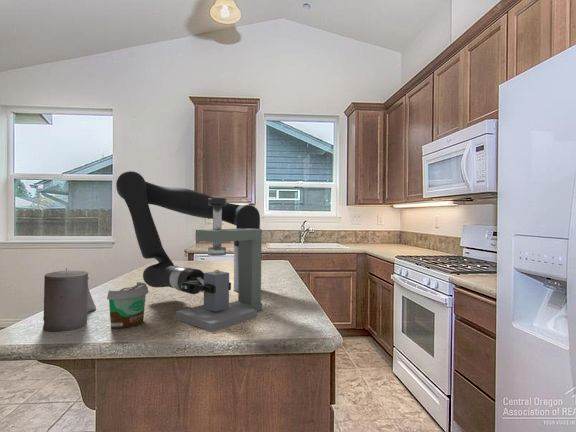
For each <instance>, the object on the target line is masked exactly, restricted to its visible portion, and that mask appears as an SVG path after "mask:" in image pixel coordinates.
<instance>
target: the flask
mask: <svg viewBox="0 0 576 432" xmlns="http://www.w3.org/2000/svg"><path fill="white" fill-rule="evenodd" d="M89 279H90V277H89V276H88V280H89ZM95 310H97V306H96V304H95V301H94V299H93V296H92V293H91V292H90V286H88V295H87V313H88V312H89V313H90V312H92V311H95Z"/></svg>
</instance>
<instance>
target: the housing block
mask: <svg viewBox="0 0 576 432" xmlns="http://www.w3.org/2000/svg"><path fill="white" fill-rule="evenodd" d="M203 273H204V283H206V284H211V285H215V286H216V293H214V294H212V293H208V292H204V293H203V305H204V308H205V309H208V310H212V311H218V310H222V309H226V308H229V303H230V290H229V282H230V272H227V271H222V270H220V269H214V270H213V271H208V272H203Z"/></svg>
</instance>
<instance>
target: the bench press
mask: <svg viewBox="0 0 576 432" xmlns="http://www.w3.org/2000/svg"><path fill="white" fill-rule="evenodd" d="M262 231H263V230H262V229H261V228H260V229H241V228H240V229H236V228H221V230H216V231H215V230H213V228H212V229H210V228H209V229H195V241H197V242H198V241H199V242H206V243H207V242H208V243H213V242H221V243H225V242H226V243H228V242H234V241H239V286H238V295H237V296H238V299H237V300H236V301H231V302H229V308H226V309H222V310H218V311H212V310H208V309H205V308H204V304H201V305H197V306H194V307H193V306H192V307H188V308H184V309H180V310H175V319H176V320H179V321H180V322H184V323H186V324H189V325H192V326H194V327H197V328H200V329H202V330H206V331H208V332H213V331H217V330H221V329H224V328H226V327H230V326H232V325H236V324H238V323H242V322H246V321H249V320H251V319H255V318H257V312H259V311H260V312H261V311H262V310H263V303H262V240H263V239H262V237H263V236H262V235H263V233H262Z"/></svg>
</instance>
